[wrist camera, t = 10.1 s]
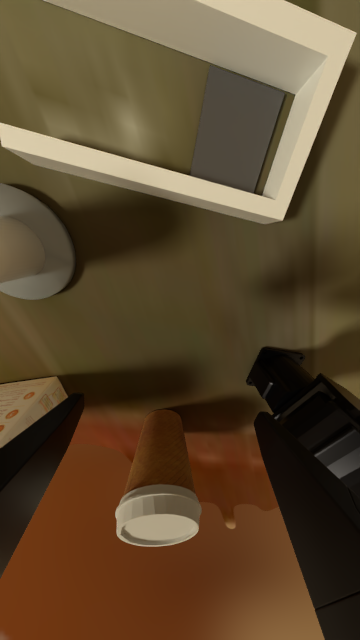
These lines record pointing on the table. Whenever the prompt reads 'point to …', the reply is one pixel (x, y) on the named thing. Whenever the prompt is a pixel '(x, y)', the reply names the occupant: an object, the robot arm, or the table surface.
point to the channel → (219, 100)
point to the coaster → (53, 241)
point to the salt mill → (19, 251)
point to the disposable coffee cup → (159, 487)
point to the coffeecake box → (26, 404)
